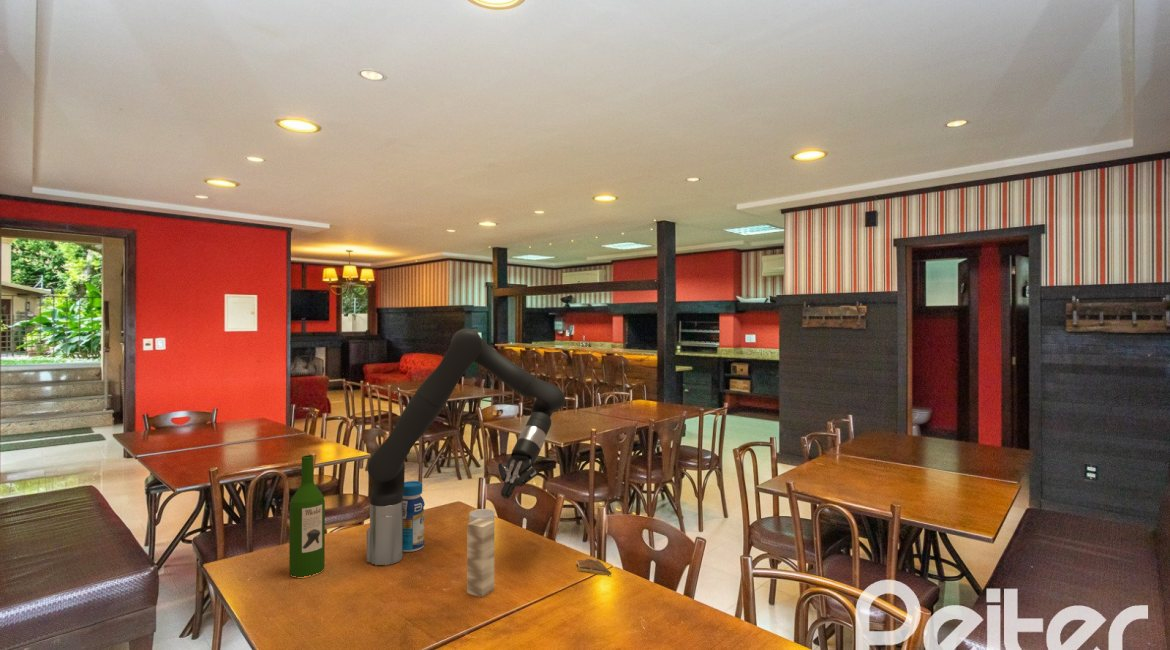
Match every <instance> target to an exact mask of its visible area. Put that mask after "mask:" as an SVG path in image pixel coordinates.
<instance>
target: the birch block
mask: <svg viewBox="0 0 1170 650" xmlns="http://www.w3.org/2000/svg"><path fill="white" fill-rule="evenodd" d="M495 523H496V521H495V520H494V521H490V520H485V519H480V518H479V519H477V520H475V521H473V522H470V521H469V523H467V524H466V594H468V595H472V596H476V597H479V598H484V597H485V596H487V595H488V594H490V593H492V592H493V591H494V590H495Z"/></svg>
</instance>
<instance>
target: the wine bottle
mask: <svg viewBox="0 0 1170 650" xmlns="http://www.w3.org/2000/svg"><path fill="white" fill-rule="evenodd" d="M314 472H315V471H314V455H313V454H306V455H303V456H301V477H300V478H301V480H300V481H301V483H300V485H299V487H298V488H297V490H296V491H295V493H294V495H292V497H291V499H290V502H289V551H288V552H289V561H288V562H289V567H288V568H289V569H288V571H289V576H290V575H292V576H296V577H304V576H309V575H313V574H316V573H319V572H321V571H322V570H323V569H324V570H325V568H324V567H326V566H325V564H326V563H325V561H326V560H325V556H326V554H325V551H326V550H325V545H326V544H325V543H326V542H325V541H326V539H325V536H326V535H325V534H326V532H325V528H326V527H325V524H326V522H325V521H326V520H325V519H326V517H325V516H326V514H325V513H326V507H325V505H326V501H325V497H324V496H325V495H324V494H323V493H322V492H321V490H319V488H318V486H317V485H316V483H315V479H314ZM324 570H323V571H324Z"/></svg>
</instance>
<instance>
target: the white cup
mask: <svg viewBox="0 0 1170 650" xmlns="http://www.w3.org/2000/svg"><path fill="white" fill-rule="evenodd" d="M468 515H469V517H468V518H469V519H468V520H469V523H470V522H473V521H475V520H477V519H479V518H480V519H485V520H490V521H495V511H494V510H493V509H490V508H480V509H479V508H478V509H474V510H472V511H470V512H469V513H468Z"/></svg>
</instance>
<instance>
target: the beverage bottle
mask: <svg viewBox="0 0 1170 650" xmlns="http://www.w3.org/2000/svg"><path fill="white" fill-rule="evenodd" d="M422 494H423V483H422V482H421V481H419V480H409V481H404V491H403V553H404V552H405V553H410V552H412V553H413V552H416V551H419V550H422V549H423V548H424V547H425V515H426V511H425V500H424V498H423V497H422Z"/></svg>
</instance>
